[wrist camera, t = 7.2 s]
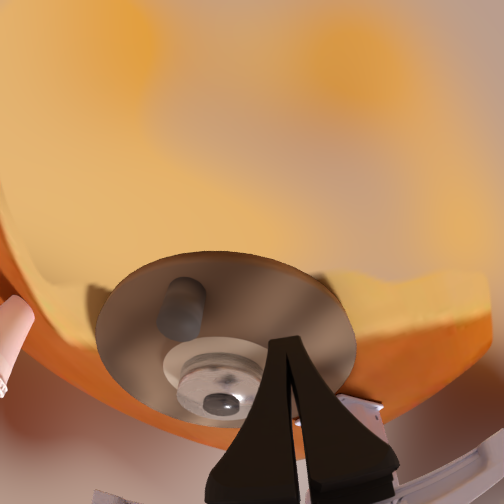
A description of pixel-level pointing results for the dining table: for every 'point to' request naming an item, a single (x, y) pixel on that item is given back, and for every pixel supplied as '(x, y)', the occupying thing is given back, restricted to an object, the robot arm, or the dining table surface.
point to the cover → (219, 385)
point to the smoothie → (12, 334)
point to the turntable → (216, 323)
